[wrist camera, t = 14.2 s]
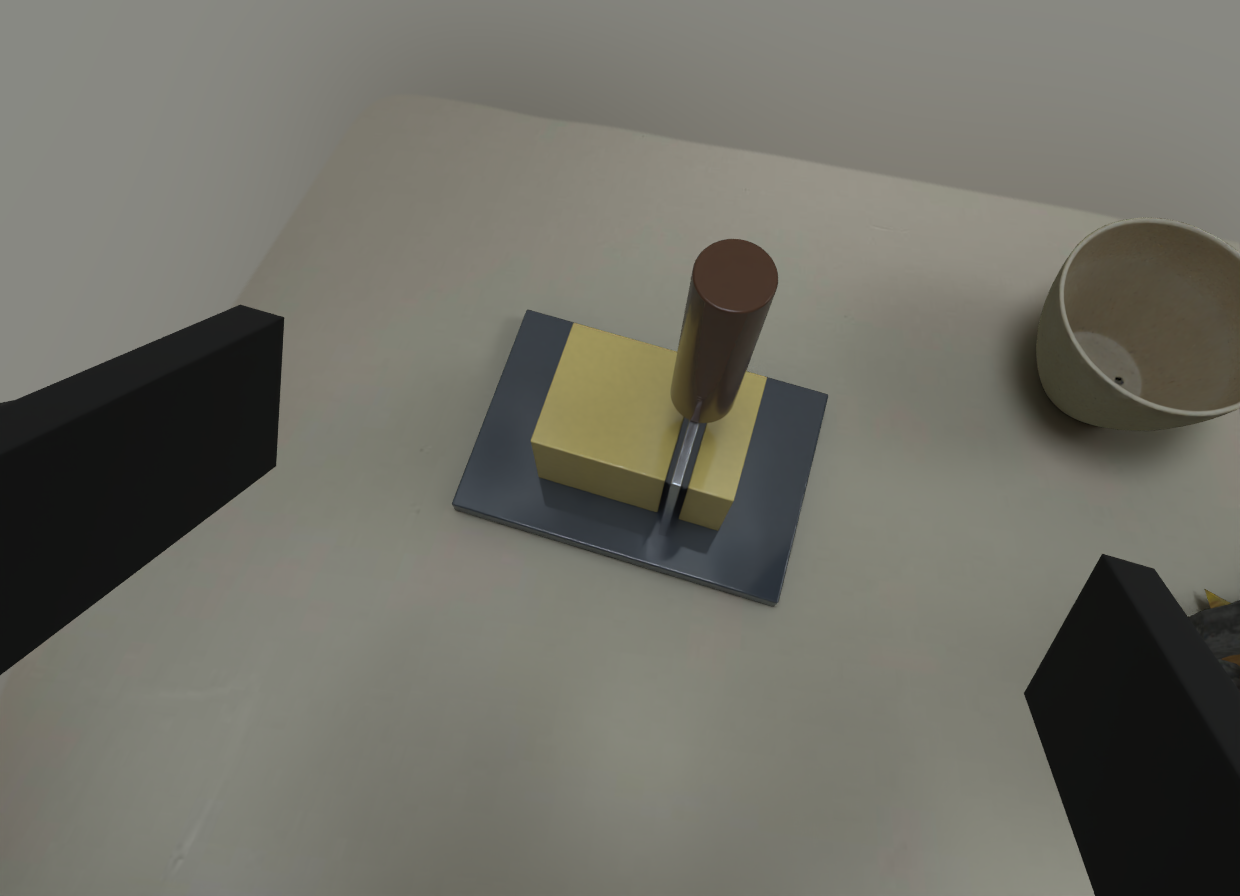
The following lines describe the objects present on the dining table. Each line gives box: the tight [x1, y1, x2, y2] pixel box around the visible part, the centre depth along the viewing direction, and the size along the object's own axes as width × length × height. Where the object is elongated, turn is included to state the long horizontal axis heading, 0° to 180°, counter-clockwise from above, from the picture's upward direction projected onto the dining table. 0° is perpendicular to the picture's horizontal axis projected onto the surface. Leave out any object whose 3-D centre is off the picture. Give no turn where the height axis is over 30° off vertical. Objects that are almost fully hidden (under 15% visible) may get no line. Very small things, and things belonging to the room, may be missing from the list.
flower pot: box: [1036, 218, 1240, 431], centre depth 42 cm, size 10×10×7 cm
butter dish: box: [452, 310, 828, 606], centre depth 40 cm, size 16×11×6 cm
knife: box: [658, 239, 778, 536], centre depth 34 cm, size 3×8×17 cm, turn 163°
